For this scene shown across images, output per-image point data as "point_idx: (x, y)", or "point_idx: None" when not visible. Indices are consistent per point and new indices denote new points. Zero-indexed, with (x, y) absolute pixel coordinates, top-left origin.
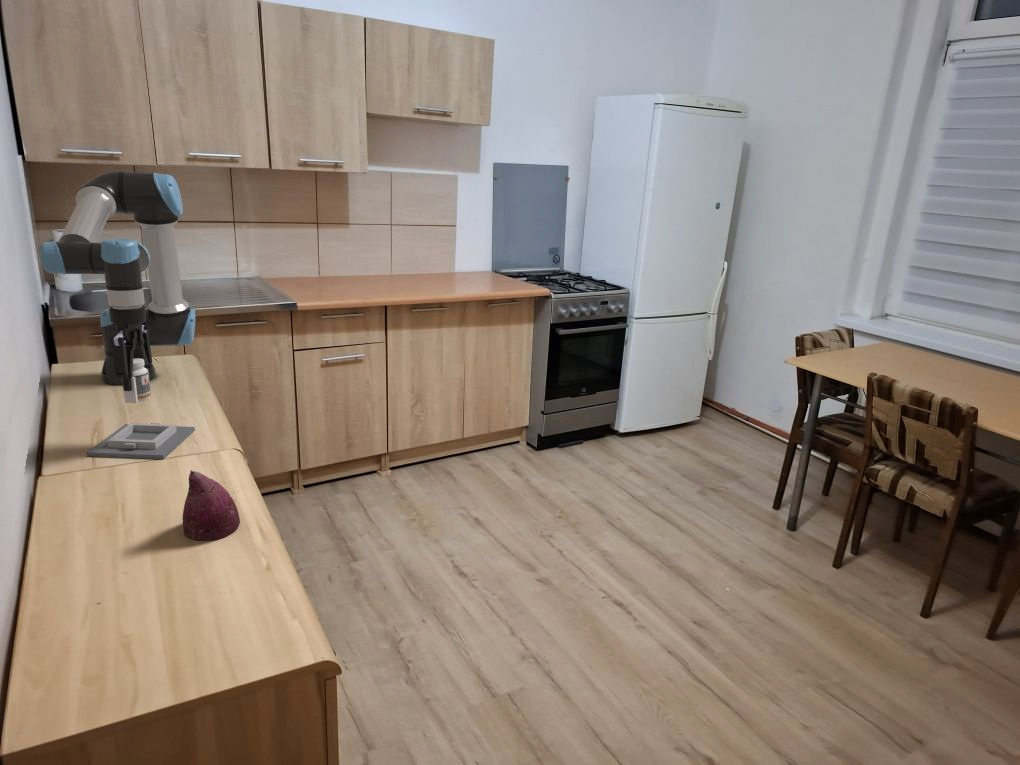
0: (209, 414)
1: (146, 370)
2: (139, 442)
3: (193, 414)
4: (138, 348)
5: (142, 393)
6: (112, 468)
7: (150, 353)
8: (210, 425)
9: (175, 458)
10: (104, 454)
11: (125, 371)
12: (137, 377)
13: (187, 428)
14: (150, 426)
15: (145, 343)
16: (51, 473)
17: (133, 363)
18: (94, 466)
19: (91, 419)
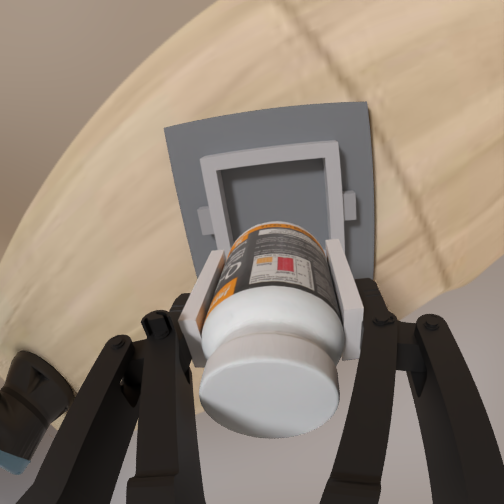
0: (73, 162)
1: (248, 300)
2: (341, 186)
3: (86, 197)
4: (186, 462)
5: (308, 243)
6: (424, 194)
7: (94, 378)
8: (127, 112)
9: (352, 76)
10: (373, 246)
11: (454, 341)
12: (329, 299)
13: (178, 139)
14: (226, 222)
15: (89, 452)
16: (442, 289)
17: (333, 381)
18: (417, 236)
19: (192, 366)
